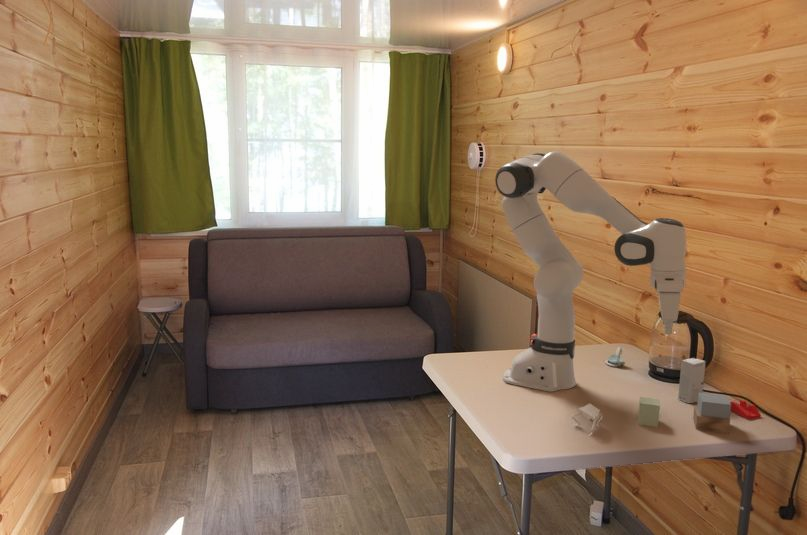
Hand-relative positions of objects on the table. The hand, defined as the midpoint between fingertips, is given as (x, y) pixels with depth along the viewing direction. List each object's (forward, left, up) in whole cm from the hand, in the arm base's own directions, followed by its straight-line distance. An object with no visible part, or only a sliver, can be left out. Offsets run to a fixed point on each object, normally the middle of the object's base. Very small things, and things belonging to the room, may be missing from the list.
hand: (667, 329), depth 184 cm
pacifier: (-13, +42, -25) cm, 51 cm away
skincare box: (+9, +16, -25) cm, 31 cm away
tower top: (+13, -2, -21) cm, 25 cm away
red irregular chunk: (+23, +10, -25) cm, 36 cm away
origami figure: (-18, -17, -25) cm, 35 cm away
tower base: (+13, -2, -25) cm, 28 cm away
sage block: (-3, -6, -25) cm, 26 cm away
